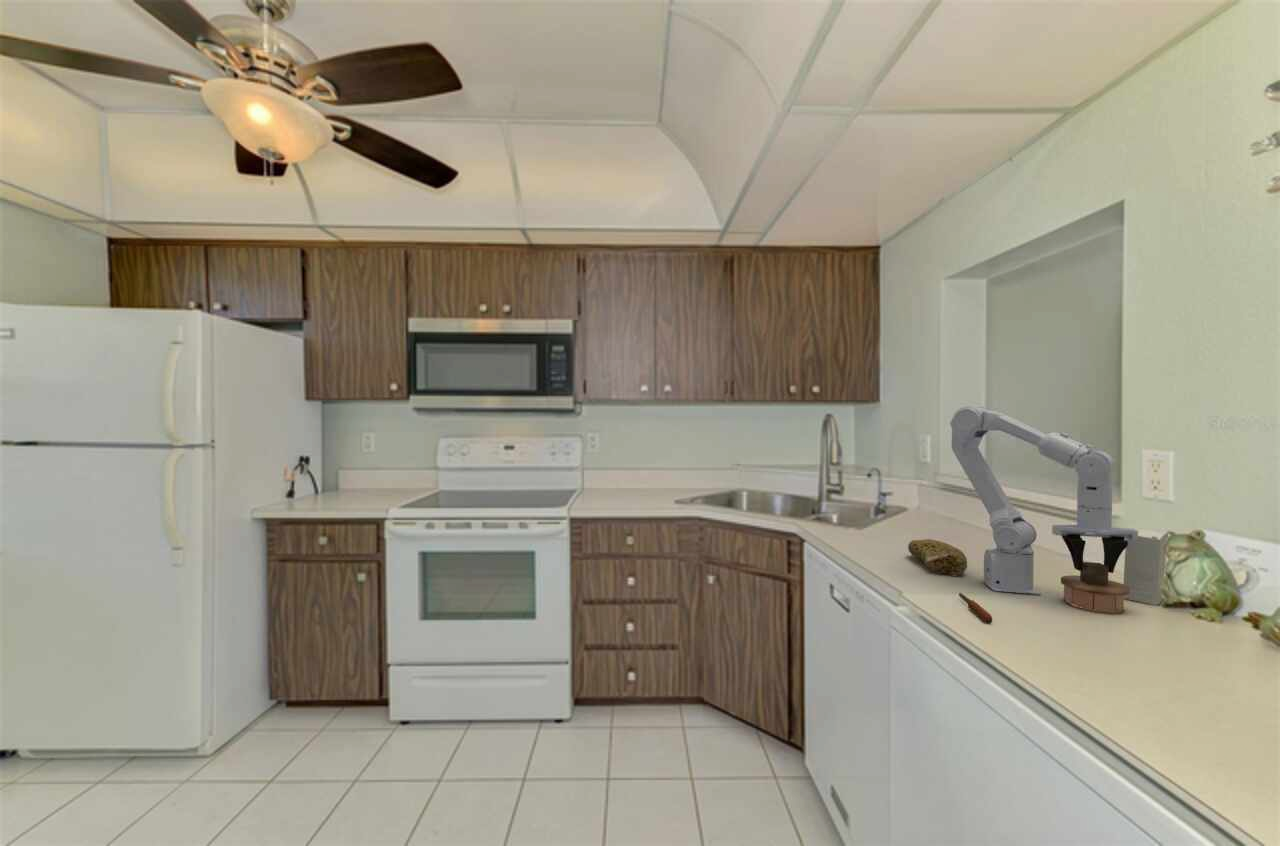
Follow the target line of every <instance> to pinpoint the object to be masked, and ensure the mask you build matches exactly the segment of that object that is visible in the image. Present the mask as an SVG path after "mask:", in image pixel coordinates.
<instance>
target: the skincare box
mask: <svg viewBox="0 0 1280 846" xmlns="http://www.w3.org/2000/svg"><path fill="white" fill-rule="evenodd" d="M1132 529H1134V530H1137V531H1138V540H1132V539H1125V540H1126V541H1128V546H1127V547H1126V548H1125V549H1124V551H1125V552H1124V567H1123V568H1124V569H1123V570H1124V571H1123V584H1124V585H1126V586H1127V587H1129V594H1127V595H1124V600H1127V599H1129V601H1132V600H1134V601H1133V602H1137V601H1140V602H1139V603H1141V602H1144V603H1143V604H1146V603H1148V604H1147V605H1151V604H1153V605H1152V606H1156V605H1157V606H1159V604H1160V603H1161V602H1162V600H1163V598H1164V597H1162V593H1161V591H1160V590H1161V589H1160V587H1161V583H1162V578H1163V576H1164V569H1165V570H1166V558H1167V557H1166V555H1167V553H1166V554H1165V552H1164V545H1165V543H1166V544H1167V533H1166V532H1161V531H1155V530H1146V529H1141V528H1132Z"/></svg>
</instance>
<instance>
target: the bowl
mask: <svg viewBox="0 0 1280 846" xmlns="http://www.w3.org/2000/svg"><path fill="white" fill-rule="evenodd" d="M1064 599H1065V600H1066V601H1068V602H1069V603H1071V604H1073V605H1076V606H1078V607H1082V608H1085V609H1084V610H1086V609H1088V610H1087V611H1090V610H1092V611H1091V612H1094V611H1098V612H1097V613H1105V612H1109V613H1108V614H1118V613H1120V612H1124V611H1123V610H1125V609H1124V607H1125V599H1124V595H1102V594H1095V593H1089V592H1084V591H1080V590H1076V589H1073V588H1070V587H1067V586H1065V585H1063V600H1064ZM1066 601H1065V602H1066ZM1078 607H1077V608H1078ZM1082 608H1081V609H1082ZM1093 610H1094V611H1093Z"/></svg>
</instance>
